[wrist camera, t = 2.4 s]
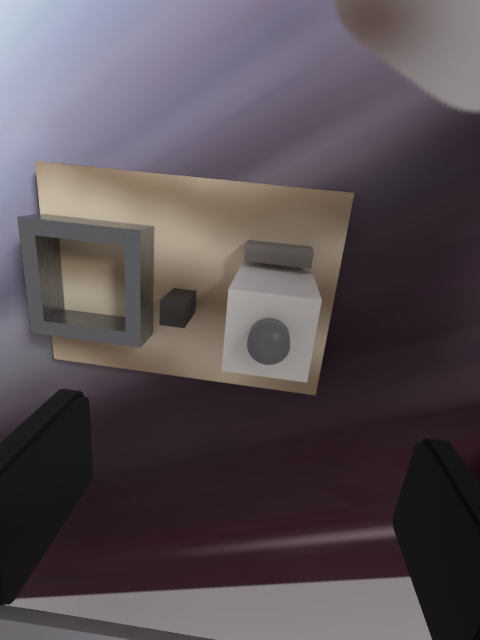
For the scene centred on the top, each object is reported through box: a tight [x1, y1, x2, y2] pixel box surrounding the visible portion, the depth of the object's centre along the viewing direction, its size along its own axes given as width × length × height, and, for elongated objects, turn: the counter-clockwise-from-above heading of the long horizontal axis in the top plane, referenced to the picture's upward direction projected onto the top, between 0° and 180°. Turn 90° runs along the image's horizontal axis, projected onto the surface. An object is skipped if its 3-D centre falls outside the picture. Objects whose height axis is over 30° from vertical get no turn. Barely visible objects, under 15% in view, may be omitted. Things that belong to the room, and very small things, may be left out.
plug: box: [222, 261, 322, 383], centre depth 21 cm, size 4×4×8 cm
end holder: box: [18, 214, 154, 348], centre depth 24 cm, size 8×8×2 cm
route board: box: [35, 161, 354, 395], centre depth 24 cm, size 14×20×4 cm
